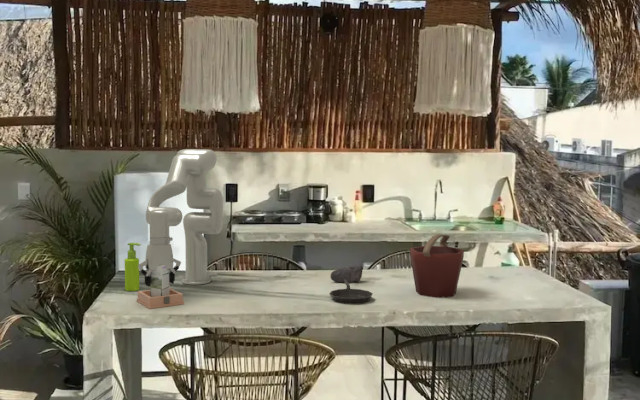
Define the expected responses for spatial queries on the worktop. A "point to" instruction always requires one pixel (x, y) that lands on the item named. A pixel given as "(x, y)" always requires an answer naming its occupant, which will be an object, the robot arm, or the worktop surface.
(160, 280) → the syrup box
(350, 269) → the perforated stone tool
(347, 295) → the frying pan
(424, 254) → the bucket
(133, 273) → the soap dispenser
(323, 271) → the worktop surface
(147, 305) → the pink square tray
